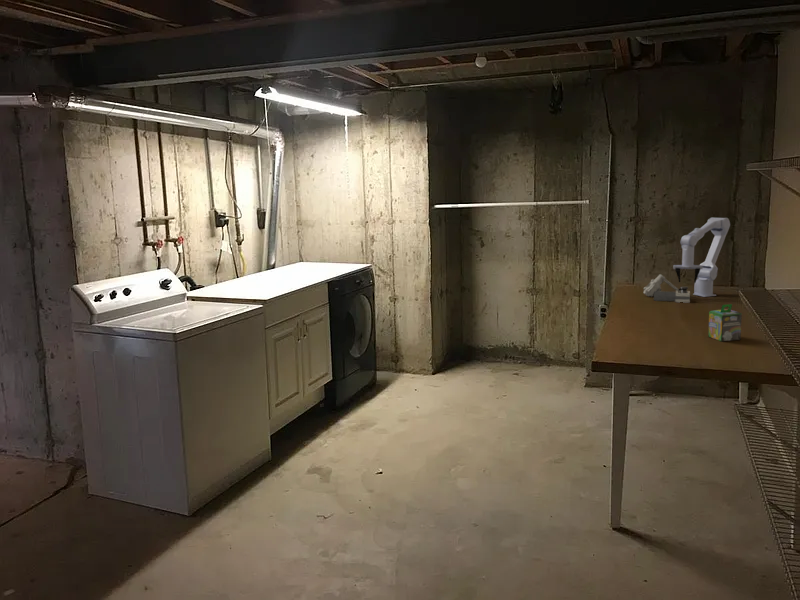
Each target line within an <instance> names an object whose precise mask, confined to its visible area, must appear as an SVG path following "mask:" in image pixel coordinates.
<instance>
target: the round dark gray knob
mask: <svg viewBox="0 0 800 600" xmlns="http://www.w3.org/2000/svg"><path fill="white" fill-rule="evenodd" d="M679 289H681V293H687V291H688V290H689V286H680V287H679Z"/></svg>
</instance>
